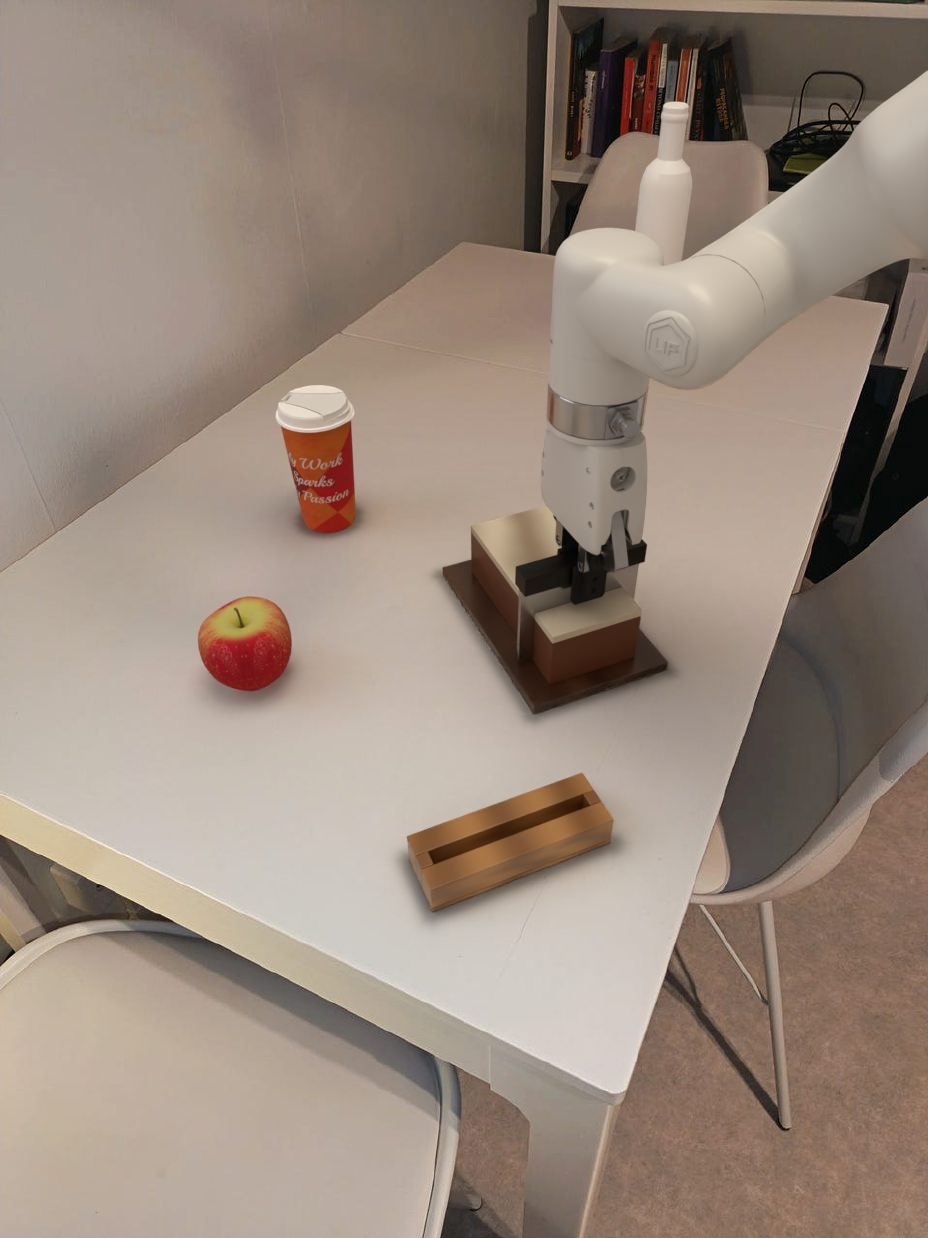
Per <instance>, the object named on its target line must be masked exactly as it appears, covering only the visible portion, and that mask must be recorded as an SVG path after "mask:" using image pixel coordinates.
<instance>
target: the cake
mask: <svg viewBox="0 0 928 1238" xmlns="http://www.w3.org/2000/svg"><path fill="white" fill-rule="evenodd" d="M555 533H556V521H555V519H554V517H553V513H552V512H551V511H550V510H549V508H548V507H547V506H546V505H544V506H539V507H536V508H532V509H528V510H524V511H521V512H520V511H519V512H517V513H512V514H510V515H509V514H508V515H505V516H501V517H498V518H497V517H496V518H493V519H490V520H486V521H482V522H478V523H475V524H471V525H470V554H471V555H470V556H471V557H470V559H468V560H463V561H461V562H457V563H453V564H450V565H446V566H443V567H442V568H441V569H442V576H444V578H445V580H446V581H447V583H448V585H449V586H450V587H451V589H452V591H453V592H454V594H455V595H456V597H457V599H458V600H459V602H460V603H461V604H462V606H463V608H464V609H465V610H466V612H467V614H468V615H469V617H470V618H471V621H473V623H474V624H475V626H476V628H477V629H478V631H479V632H480V634H481V635H482V636H483V638H484V640H485V641H486V643H487V644H488V646H489V647H490V649H491V651H492V652H493V654H494V655H495V656H496V658H497V661H498V662H499V663H500V664H501V666H502V667H503V669H504V670H505V672H506V673H507V675H508V676H509V678H510V680H511V681H512V683H513V684H514V685H515V687H516V688H517V690H518V692H519V693H520V695H521V696H522V698H523V699H524V701H525V703H526V704H527V705H528V707H529V709H530V710H531V712H532V713H533V714H538V713H541V712H544V711H547V710H551V709H553V708H556V707H559V706H561V705H564V704H568V703H571V702H573V701H577V700H580V699H583V698H586V697H588V696H592V695H594V694H598V693H600V692H601V693H602V692H604V691H606V690H610V689H613V688H615V687H618V686H621V685H624V684H627V683H630V682H633V681H636V680H639V679H642V678H645V677H647V676H651V675H654V674H657V673H660V672H664V671H667V670H668V665H669V662H668V659H666V657H664V655H663V654H662V653H661V652H660V651H659V650H658V648H657V647H656V646H655V645H654V644H653V642H652V641H651V640H650V639H649V638H648V636H646V634H644V632H643V631H642V630H641V628H639V633H638V639H637V646H636V652H635V657H634V658H631V659H628V660H625V661H621V662H618V663H615V664H612V665H609V666H606V667H603V668H600V669H597V670H594V671H591V672H588V673H585V674H582V675H579V676H576V677H573V678H570V679H566V680H563V681H560V682H557V683H554V684H551V685H549V683H548V682H547V680H546V679H545V677H544V676H543V674H542V673H541V672H540V670H539V669H538V667H537V666H536V664H535V663H534V662H533V657H532V658H529V659H526V660H522V661H519V662H518V660H517V638H518V606H519V588H518V587H517V586H516V584H515V571H516V566H519V565H522V564H526V563H529V562H533V561H537V560H540V559H544V558H547V557H551V556H554V555H557V550H558V549H559V548H562V546H561V547H559V546H558V545H557V543H556V540H555Z"/></svg>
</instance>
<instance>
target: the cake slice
mask: <svg viewBox="0 0 928 1238" xmlns="http://www.w3.org/2000/svg"><path fill="white" fill-rule="evenodd" d="M642 613H643V608H642V607H641V606H640V605H639V604H638V603H637V602H636V600H635V599H634V600H633V598H632V597H631V596H630V595H629V594H628V593H627V592H626V591H625V589H624V588H623V587H621V588H617V589H614V590H611V591H607V592H605V593H604V595H603V596H602V597H600V598H597V599H593V600H590V601H587V602H583V603H580V604H577V605H574V604H573V603H572V602H571V603H567V604H564V605H561V606H557V607H554V608H551V609H547V610H544V611H541V612H537V613H535V629H534V650H533V662H534V663H535V664H536V666H537V667H538V669H539V670H540V672H541V673H542V674H543V676H544V677H545V679H546V680H547V682H548V683H549V685H551V684H554V683H557V682H560V681H563V680H566V679H570V678H573V677H576V676H579V675H582V674H585V673H588V672H591V671H594V670H597V669H600V668H603V667H606V666H609V665H612V664H615V663H618V662H621V661H625V660H628V659H631V658H634V657H635V652H636V646H637V639H638V633H639V629H640V627H641V626H640V625H641V620H642V619H641V618H642Z"/></svg>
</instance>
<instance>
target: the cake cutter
mask: <svg viewBox="0 0 928 1238" xmlns="http://www.w3.org/2000/svg"><path fill="white" fill-rule="evenodd" d="M626 547H627V556H628V569H626V570H623V571H620V572H616V573H612V572H610V571H608V570H607V577H606V585H605V592H607V591H611V590H614V589H617V588H621V587H623V588H624V589H625V591H626V592H627V593H628V594H629V595H630V596H631V597H632V598H633V600H634V601H635V595H636V589H637V582H638V581H637V580H638V575H639V568H640V564H643V563H645V562H646V558H647V557H646V556H647V549H648V543H646V541H645V540H644V539H641V541H640V543H638V544H634V545H632V544H631V543H630V542H629V541H628V540H627V539H626ZM578 550H579V549H576V550H572V551H568V552H565V553H561V554H558V555H554V556H551V557H547V558H544V559H540V560H537V561H533V562H529V563H526V564H522V565H519V566H516V571H515V584H516V586H517V587H518V588H519V606H518V638H517V660H518V662H519V661H522V660H526V659H529V658H532V657H533V650H534V629H535V613H537V612H541V611H544V610H547V609H551V608H554V607H557V606H561V605H564V604H567V603H571V600H570V596H571V583H572V571H573V567H575V566H578ZM600 552H601V551H600ZM591 555H594V554H592V553H591Z"/></svg>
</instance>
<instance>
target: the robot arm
mask: <svg viewBox="0 0 928 1238" xmlns="http://www.w3.org/2000/svg"><path fill="white" fill-rule="evenodd" d="M908 259H909V260H910V259H919V260H928V70H926V71H925V72H923V73H922V74H920V75H919V76H918V77H917V78H916V79H914V80H913V81H911V82H910V83H908V84H907V85H906V86H905V87H904V88H902V89H900V90H899V91H898V92H896V93H895V94H893V95H892V96H890V97H889V98H888V99H886V100H885V101H883V102H882V103H881V104H880V105H879V106H877V107H876V108H874V110H872V111H871V112H870V113H869V114H868V115H867V116H865V118H864V119H862V120H861V121H860V122H859V124H857V125H856V127H855V128H854V130H853V131H852V133H851V134H850V137H849V138H848V140H847V141H846V142H845V144H844V145H842V147H841V148H839V150H838V151H837V152H835V153H834V154H833V155H832V156H831V157H830V158H829V159H827V160H826V161H824V162H823V163H821V165H820V166H819V167H816V169H814V170H813V171H812V172H810V173H809V174H808V175H807V176H805V177H804V178H803V179H801V180H800V181H799V182H797V183H796V184H794V185H793V186H791V187H790V188H789V189H788V190H786V191H784V193H782V194H780V195H779V196H778V197H777V198H775V199H774V200H772V201H771V202H769V203H768V204H766V206H764V207H762V208H761V209H760V210H758V211H757V212H755V213H754V214H753V215H751V216H750V217H749V218H747V219H746V220H745V221H742V222H741V223H740V224H739V225H737V226H736V227H734V228H732V229H731V230H730V231H729V232H727V233H726V234H724V235H723V236H721V237H719V238H718V239H716V240H714V241H713V242H712V243H710V244H708V245H706V246H705V247H703V248H701V249H700V250H698V251H697V252H696V253H694V254H692V255H691V256H690V257H687V258H686V259H684V260H682V261H680V262H677V263H673V264H670V265H665V266H664V257H663V253H662V250H661V248H660V246H659V245H658V243H657V242H656V241H654V240H653V239H652V238H651V237H649V236H647V235H645V234H642V233H640V232H636V231H635V230H632V229H627V228H620V227H598V228H597V227H596V228H591V229H586V230H585V229H584V230H581V231H578V232H575V233H574V234H572V235H570V236H568V237H567V238H565V240H563V241H562V243H561V244H560V246H559V247H558V249H557V251H556V253H555V257H554V263H553V273H552V274H553V275H552V294H551V295H552V296H551V315H550V316H551V317H550V333H549V334H550V335H549V336H550V338H549V358H548V359H549V360H548V378H547V396H546V399H547V400H546V418H545V422H546V425H545V429H544V430H545V431H544V437H543V447H542V455H541V464H540V465H541V468H540V494H541V499H542V500H543V502H544V504H545V506H547V507H548V508H549V510H550V511H551V512H552V513H553V517H554V519H555V521H556V533H555V540H556V543H557V545H558V546H559V547H561V546H562V548H559V549H558V550H557V555H558V554H561V553H565V552H568V551H572V550H576V549H579V550H578V566H575V567H573V571H572V583H571V596H570V600H571V602H572V603H573V604H574V605H577V604H580V603H583V602H587V601H590V600H593V599H597V598H600V597H602V596H603V595H604V593H605V585H606V577H607V570H608V571H610V572H612V573H616V572H620V571H623V570H626V569H628V556H627V547H626V539H627V540H628V541H629V542H630V543H631V544H632V545H634V544H638V543H640V541H641V539H642V538H643V535H644V528H645V520H646V509H647V508H646V507H647V495H648V450H647V440H646V436H645V434H644V433H643V432H642V430H644V425H645V418H646V409H647V403H648V396H649V395H648V393H649V387H650V386H649V385H650V379H651V380H653V381H655V382H657V383H659V384H662V385H664V386H666V387H669V388H673V389H676V390H682V391H683V390H684V391H694V390H701V389H705V388H707V387H709V386H711V385H714V384H715V383H716V382H718V381H720V380H721V379H723V378H724V377H725V376H726V375H727V374H729V373H730V372H731V371H732V370H733V369H734V368H736V367H737V366H738V365H739V364H740V363H741V362H742V361H744V360H745V359H746V357H748V356H749V355H750V354H751V353H752V352H753V351H755V350H756V349H757V348H758V347H759V346H760V345H761V344H762V343H763V342H765V341H766V340H767V339H768V338H770V337H771V336H772V335H773V334H774V333H776V332H777V331H778V330H780V329H781V328H782V327H783V326H785V325H787V324H788V323H789V322H791V321H792V320H794V319H796V318H797V317H798V316H800V315H802V314H803V313H805V312H806V311H808V310H810V309H811V308H814V307H815V306H817V305H818V304H820V303H822V302H823V301H825V300H828V298H830V297H832V296H834V295H835V294H837V293H839V292H841V291H842V290H844V289H845V288H848V287H849V286H851V285H853V284H855V283H856V282H858V281H860V280H861V279H863V278H865V277H867V276H868V275H871V274H873V273H875V272H877V271H879V270H880V269H883V268H885V267H887V266H890V265H891V264H894V263H897V262H900V261H903V260H908ZM642 540H643V539H642ZM600 551H601V552H600ZM591 553H592V554H594V555H591Z"/></svg>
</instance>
